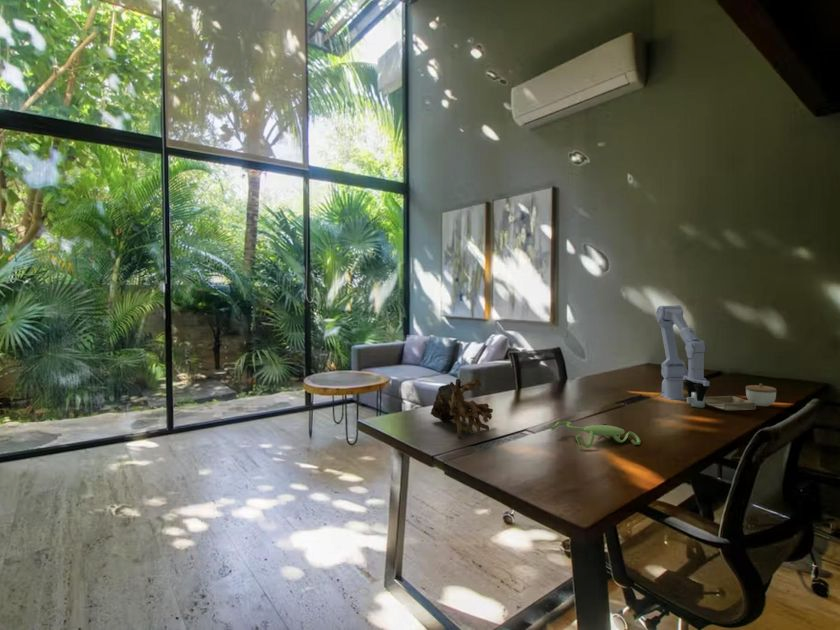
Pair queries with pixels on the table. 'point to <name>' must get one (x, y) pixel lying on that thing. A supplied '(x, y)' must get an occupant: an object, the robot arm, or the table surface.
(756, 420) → the table surface
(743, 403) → the beige shallow tray
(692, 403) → the jug
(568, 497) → the table surface
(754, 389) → the lidded jar
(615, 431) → the figurine
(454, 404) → the decorative coral sculpture
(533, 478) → the table surface
